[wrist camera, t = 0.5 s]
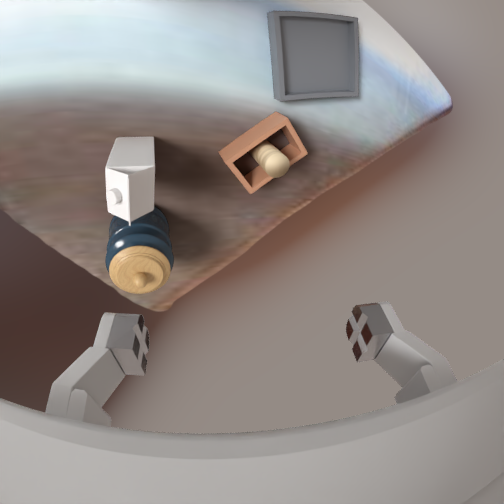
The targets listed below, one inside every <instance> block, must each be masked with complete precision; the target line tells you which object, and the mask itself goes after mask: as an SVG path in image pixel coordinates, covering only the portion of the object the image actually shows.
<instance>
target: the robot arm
mask: <svg viewBox="0 0 504 504" xmlns="http://www.w3.org/2000/svg"><path fill="white" fill-rule="evenodd" d="M352 313H353V316H352V317H350V318H349V319H348V322H347V324H346V333H347V337H348V340H349V341H350V342H351V343H353V344H354V345H353V348H352V350H353V353H354V356H355V358H356V361H357V362H362V361H368V360H374V359H375V362H377V363H378V364H379V365H380V366H381V367H382V368H383V369H384V370H385V371H386V372H387V373H388V374H389V375H390V376H391V377H392V378H393V379H394V380H395V381H396V382H397V383H398V384H399V385H400V386H401V387H402V389H401V390H400V391H399V392H398V393H397V394H396V396H395V400H396V402H397V404H396V405H393V406H390V407H387V408H383V409H380V410H376V411H372V412H368V413H364V414H360V415H356V416H352V417H348V418H343V419H339V420H334V421H329V422H323V423H318V424H312V425H306V426H299V427H292V428H285V429H277V430H268V431H257V432H242V433H217V434H189V433H165V432H151V431H139V430H130V429H123V428H116V427H111V418H110V416H109V415H108V414H107V413H106V412H105V411H104V410H103V409H102V408H101V407H102V406H103V405H104V403H105V402H106V400H107V399H108V398H109V397H110V395H111V394H112V393H113V391H114V390H115V389H116V387H117V386H118V385H119V383H120V382H121V380H122V379H123V378H124V377H125V375H126V374H127V375H145V374H146V367H147V359H146V357H145V354H146V353H147V352H148V351H149V333H148V329H147V328H146V327H145V326H144V318H143V316H142V315H140V314H120V313H105V314H104V315H103V316H102V319H101V322H100V326H99V328H98V332H97V335H96V339H95V342H94V346H93V347H89V348H88V349H87V350H86V351H85V352H84V353H83V354H82V355H81V356H80V357H79V358H78V359H77V360H76V361H75V362H74V363H73V364H72V365H71V366H70V367H69V368H68V369H67V370H66V371H65V372H64V373H63V374H62V375H61V376H60V377H59V378H58V379H56V380H55V381H54V382H53V384H52V387H51V391H50V395H49V399H48V403H47V407H46V412H45V413H44V412H40V411H37V410H33V409H30V408H27V407H24V406H21V405H18V404H15V403H12V402H9V401H6V400H3V399H1V398H0V504H504V359H503V360H500V361H498V362H497V363H495V364H493V365H491V366H489V367H487V368H485V369H483V370H481V371H479V372H477V373H475V374H473V375H471V376H469V377H467V378H464V379H462V380H460V381H457V379H456V377H455V375H454V373H453V371H452V369H451V367H450V365H449V363H448V361H447V359H446V358H445V357H444V356H443V355H441V354H440V353H438V352H437V351H436V350H434V349H433V348H432V347H430V346H429V345H427V344H426V343H425V342H423V341H422V340H420V339H419V338H418V337H416V336H415V335H413V334H412V333H410V332H409V331H408V330H407V331H405V330H404V328H403V326H402V324H401V323H400V321H399V319H398V317H397V315H396V313H395V311H394V309H393V308H392V306H391V304H390V303H389V302H380V303H370V304H363V305H356V306H355V307H354V308H353V310H352Z"/></svg>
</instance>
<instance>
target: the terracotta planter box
mask: <svg viewBox="0 0 504 504" xmlns="http://www.w3.org/2000/svg"><path fill="white" fill-rule="evenodd" d="M279 129H281V130H282V131H283V133H284V134H285V136H286V138H287V139H288V141H289V143H290V144H289V145H287V146H286V147H284V148H283V149H281V150H280V152H281V153H283V154H284V155H285V156H286V157H287V158H288V160H289V163H290V166H291V165H292V164H294V163H295V162H297V161H298V160H300V159H301V158H302V157H304V156H305V155H307V154H308V153H307V151H306V149H305V147H304V146H303V144H302V142H301V140H300V138H299V137H298V135H297V133H296V131H295V130H294V128H293V126H292V125H291V123H290V121H289V119H288V118H287V117H285V116H283V115H281V114H280V113H278V112H274V113H273V114H271V115H270V116H268V117H267V118H265V119H264V120H262V121H261V122H260V123H258V124H257V125H255V126H254V127H252V128H251V129H249V130H248V131H247V132H245V133H244V134H242V135H241V136H240V137H238V138H237V139H235V140H234V141H233V142H231V143H230V144H229V145H227V146H226V147H225V148H223V149H222V150H221V151H219V152H218V153H219V154H220V156H221V157H222V159H223V160H224V162H225V163H226V164H227V166H228V167H229V168H230V169H231V171H232V172H233V173H234V174H235V175H236V177H237V178H238V179H239V180H240V182H241V183H242V184H243V185H244V187H245V188H246V189H247V190H248V192H249V193H250V194H252V193H253V192H255V191H256V190H257V189H259V188H260V187H262V186H263V185H264V184H266V183H267V182H268V181H270V180H271V179H273V177H271V176H269V175H268V174H267V173H266V172H265V170H264V169H263V168H262V167H261V166H260V165H259V166H257V167H256V168H255V169H253V170H252V171H250V172H249V173H248V174H246V175H245V176H243V175H242V173H241V172H240V171H239V169H238V168H237V167H236V166H235V164H234V163H233V162H234V161H235V160H237V159H238V158H240V157H241V156H242V155H244V154H245V153H246V152H248V151H249V150H251V149H252V148H253V147H255V146H256V145H258V144H259V143H260V142H262V141H263V140H265V139H266V138H268V137H269V136H271V135H272V134H273V133H275V132H276V131H278V130H279Z"/></svg>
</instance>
